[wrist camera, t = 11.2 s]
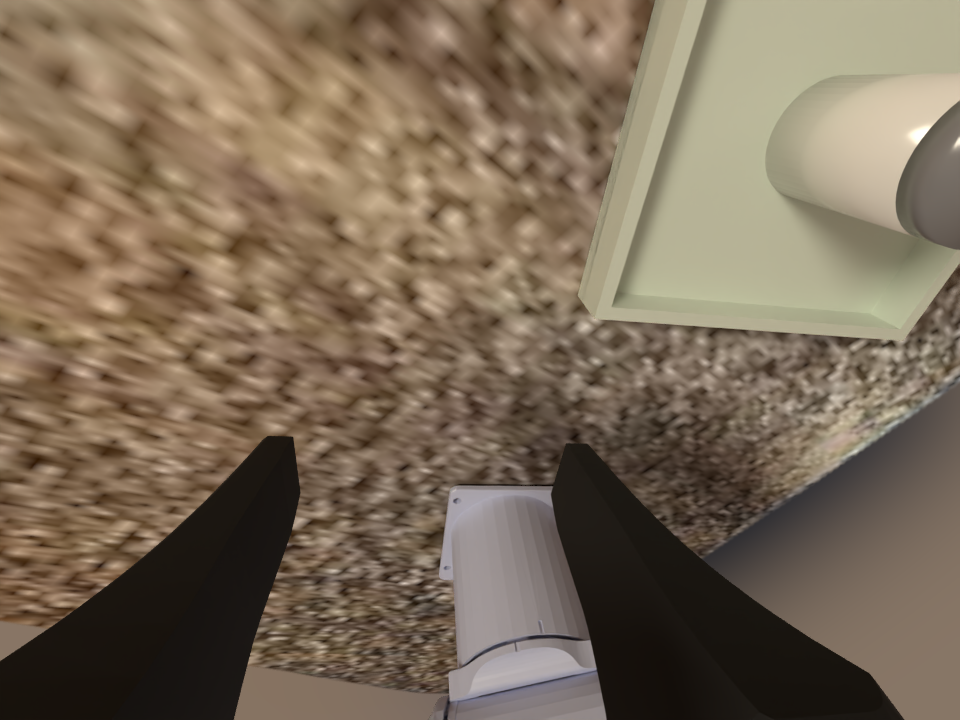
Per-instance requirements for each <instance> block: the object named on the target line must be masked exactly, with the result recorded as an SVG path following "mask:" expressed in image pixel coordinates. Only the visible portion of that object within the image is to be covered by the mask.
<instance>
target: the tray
mask: <svg viewBox="0 0 960 720" xmlns="http://www.w3.org/2000/svg"><path fill="white" fill-rule="evenodd" d="M929 73H960V0H655V4H654V7H653V11H652V15H651V19H650V23H649V26H648V30H647V34H646V38H645V42H644V45H643V49H642V53H641V57H640V61H639V64H638V68H637V72H636V76H635V80H634V83H633V87H632V91H631V95H630V99H629V102H628V106H627V110H626V114H625V118H624V121H623V125H622V129H621V133H620V137H619V140H618V144H617V148H616V152H615V156H614V159H613V163H612V167H611V171H610V175H609V178H608V182H607V186H606V190H605V194H604V197H603V201H602V205H601V209H600V213H599V216H598V220H597V224H596V228H595V232H594V235H593V239H592V243H591V247H590V251H589V254H588V258H587V262H586V266H585V270H584V273H583V277H582V281H581V285H580V289H579V292H578V297H579V298H580V299H581V301H582V302H583V304H584V305H585V306H586V308H587V309H588V311H589V312H590V313H591V315H592V316H593V318H594V319H603V320H617V321H631V322H645V323H659V324H673V325H687V326H702V327H716V328H730V329H744V330H758V331H772V332H786V333H800V334H814V335H828V336H842V337H857V338H871V339H885V340H899V341H903V340H904V339H905V337H906V336H907V335H908V333H909V332H910V331H911V329H912V328H913V326H914V325H915V324H916V322H917V321H918V320H919V318H920V317H921V315H922V314H923V313H924V311H925V310H926V309H927V307H928V306H929V304H930V303H931V302H932V300H933V299H934V298H935V296H936V295H937V293H938V292H939V291H940V289H941V288H942V287H943V285H944V284H945V282H946V281H947V280H948V278H949V277H950V276H951V274H952V273H953V271H954V270H955V269H956V267H957V266H958V265H959V263H960V250H955V249H951V248H948V247H945V246H942V245H938V244H935V243H932V242H929V241H926V240H923V239H920V238H917V237H914V236H910V235H907V234H904V233H901V232H898V231H895V230H892V229H889V228H886V227H882V226H879V225H876V224H873V223H870V222H867V221H864V220H861V219H858V218H854V217H851V216H848V215H845V214H842V213H839V212H836V211H833V210H830V209H826V208H823V207H820V206H817V205H814V204H811V203H808V202H805V201H802V200H798V199H795V198H792V197H789V196H786V195H784V194H782V193H780V192H778V191H777V190H776V189H775V188H774V187H773V186H772V185H771V183H770V181H769V179H768V176H767V173H766V168H765V156H766V149H767V145H768V142H769V138H770V136H771V133H772V131H773V129H774V127H775V125H776V123H777V121H778V120H779V118H780V117H781V115H782V114H783V112H784V111H785V110H786V108H787V107H788V106H789V105H790V104H791V103H792V102H793V101H794V99H796V98H797V97H798V96H799V95H800V94H801V93H802V92H804V91H805V90H806V89H808V88H809V87H811V86H812V85H814V84H816V83H817V82H819V81H822V80H824V79H826V78H829V77H833V76H838V75H872V74H929Z"/></svg>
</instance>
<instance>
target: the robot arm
mask: <svg viewBox="0 0 960 720" xmlns="http://www.w3.org/2000/svg"><path fill="white" fill-rule="evenodd" d="M299 497H300V486H299V478H298V471H297V463H296V455H295V448H294V440H293V437H285V436H267V437H266V438H265V439H263V440H262V441H261V443H260V444H259V445H258V446H257V447H256V448H255V449H254V450H253V451H252V453H251V454H250V455H249V456H248V457H247V458H246V459H245V460H244V461H243V462H242V463H241V465H240V466H239V467H238V468H237V469H236V470H235V471H234V472H233V473H232V474H231V475H230V476H229V477H228V478H227V479H226V480H225V481H224V482H223V483H222V484H221V485H220V486H219V487H218V488H217V489H216V491H215V492H214V493H213V494H212V495H211V496H210V497H209V498H208V499H207V500H206V501H205V502H204V503H203V504H202V505H201V506H200V507H198V508H197V509H196V510H195V511H194V512H193V513H192V514H191V515H190V516H189V517H188V518H187V519H186V520H185V521H183V522H182V523H181V524H180V525H179V526H178V527H177V528H176V529H175V530H174V531H173V532H172V533H170V534H169V535H168V536H167V537H166V538H165V539H164V540H163V541H162V542H160V543H159V544H158V545H157V546H156V547H155V548H153V549H152V550H151V551H150V552H149V553H148V554H146V555H145V556H144V557H143V558H142V559H140V560H139V561H138V562H137V563H135V564H134V565H133V566H132V567H131V568H129V569H128V570H127V571H126V572H124V573H123V574H122V575H121V576H119V577H118V578H117V579H116V580H114V581H113V582H112V583H110V584H109V585H108V586H106V587H105V588H104V589H102V590H101V591H100V592H98V593H97V594H96V595H94V596H93V597H92V598H90V599H89V600H88V601H87V602H85V603H84V604H83V605H81V606H80V607H78V608H77V609H76V610H74V611H73V612H72V613H70V614H69V615H67V616H66V617H65V618H63V619H62V620H60V621H59V622H58V623H56V624H55V625H53V626H52V627H50V628H49V629H47V630H46V631H44V632H43V633H42V634H40V635H38V636H37V637H35V638H34V639H33V640H31V641H29V642H28V643H27V644H25V645H24V646H22V647H21V648H19V649H18V650H16V651H15V652H13V653H12V654H10V655H9V656H7V657H6V658H4V659H3V660H1V661H0V720H234V716H235V712H236V707H237V704H238V700H239V696H240V692H241V687H242V683H243V680H244V676H245V672H246V668H247V664H248V660H249V657H250V653H251V649H252V645H253V641H254V638H255V635H256V632H257V629H258V625H259V622H260V619H261V616H262V614H263V611H264V608H265V605H266V602H267V600H268V597H269V594H270V591H271V588H272V586H273V583H274V580H275V577H276V574H277V572H278V569H279V566H280V563H281V560H282V557H283V555H284V552H285V549H286V546H287V543H288V540H289V537H290V535H291V532H292V527H293V523H294V519H295V515H296V510H297V506H298V501H299ZM455 498H458V499H455ZM439 577H440V578H441V579H443V580H453V583H454V602H455V621H456V641H457V660H458V669H457V670H453V671H450V672H449V695H448V696H443V697H441V698H439V699H438V701H437V702H436V704H435V707H434V709H433V712H432V714H431V715H430V717H429V719H428V720H904V719H903V717H902V716H901V715H900V713H899V712H898V711H897V709H896V708H895V707H894V705H893V704H892V703H891V701H890V700H889V699H888V697H887V696H886V695H885V693H884V692H883V691H882V689H881V688H880V686H879V685H878V684H877V683H876V681H875V680H874V679H873V677H872V676H871V675H870V674H869V673H868V672H866V671H864V670H862V669H861V668H859V667H858V666H856V665H854V664H853V663H851V662H849V661H847V660H846V659H844V658H843V657H841V656H839V655H838V654H836V653H834V652H833V651H831V650H829V649H828V648H826V647H824V646H823V645H821V644H819V643H818V642H816V641H814V640H812V639H811V638H810V637H808V636H806V635H805V634H803V633H802V632H800V631H799V630H797V629H796V628H794V627H793V626H791V625H790V624H788V623H786V622H785V621H784V620H782V619H781V618H779V617H778V616H776V615H775V614H773V613H772V612H770V611H769V610H768V609H766V608H764V607H763V606H762V605H760V604H759V603H757V602H756V601H755V600H753V599H752V598H751V597H749V596H748V595H747V594H745V593H744V592H743V591H741V590H740V589H739V588H737V587H736V586H735V585H733V584H732V583H731V582H729V581H728V580H727V579H725V578H724V577H723V576H722V575H720V574H719V573H718V572H716V571H715V570H714V569H713V568H711V567H710V566H709V565H708V564H707V563H706V562H704V561H703V560H702V559H701V558H700V557H698V556H697V555H696V554H695V553H694V552H693V551H691V550H690V549H689V548H688V547H687V546H686V545H684V544H683V543H682V542H681V541H680V540H679V539H678V538H677V537H676V536H674V535H673V534H672V533H671V532H670V531H669V530H668V529H667V528H666V527H665V526H664V525H663V524H662V523H661V522H660V521H659V520H658V519H657V518H656V517H655V516H654V515H653V514H652V513H651V512H650V511H649V510H648V509H647V508H646V507H645V506H644V505H643V504H642V503H641V502H640V501H639V500H638V499H637V498H636V497H635V496H634V495H633V494H632V493H631V492H630V491H629V489H628V488H627V487H626V486H625V485H624V484H623V483H622V482H621V481H620V480H619V479H618V477H617V476H616V475H615V474H614V473H613V472H612V471H611V470H610V469H609V467H608V466H607V465H606V464H605V463H604V462H603V461H602V460H601V458H600V457H599V456H598V455H597V454H596V453H595V452H594V451H593V450H592V448H591V447H590V446H589V445H588V444H571V443H566V446H565V449H564V453H563V456H562V459H561V462H560V466H559V469H558V472H557V475H556V479H555V482H554V485H553V486H460V485H458V486H454V487H452V488H451V489H450V492H449V500H448V508H447V515H446V523H445V531H444V538H443V546H442V554H441V561H440V569H439Z"/></svg>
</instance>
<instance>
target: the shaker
mask: <svg viewBox="0 0 960 720" xmlns="http://www.w3.org/2000/svg"><path fill="white" fill-rule="evenodd" d="M765 168H766V173H767V176H768V179H769V181H770V183H771V185H772V186H773V187H774V188H775V189H776V190H777V191H778V192H780V193H782V194H784V195H786V196H789V197H792V198H795V199H798V200H802V201H805V202H808V203H811V204H814V205H817V206H820V207H823V208H826V209H830V210H833V211H836V212H839V213H842V214H845V215H848V216H851V217H854V218H858V219H861V220H864V221H867V222H870V223H873V224H876V225H879V226H882V227H886V228H889V229H892V230H895V231H898V232H901V233H904V234H907V235H910V236H914V237H917V238H920V239H923V240H926V241H929V242H932V243H935V244H938V245H942V246H945V247H948V248H951V249H955V250H960V73H929V74H872V75H838V76H833V77H829V78H826V79H824V80H822V81H819V82H817V83H816V84H814V85H812V86H811V87H809V88H808V89H806V90H805V91H804V92H802V93H801V94H800V95H799V96H798V97H797V98H796V99H794V101H793V102H792V103H791V104H790V105H789V106H788V107H787V108H786V110H785V111H784V112H783V114H782V115H781V117H780V118H779V120H778V121H777V123H776V125H775V127H774V129H773V131H772V133H771V136H770V138H769V142H768V145H767V149H766V156H765Z"/></svg>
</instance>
